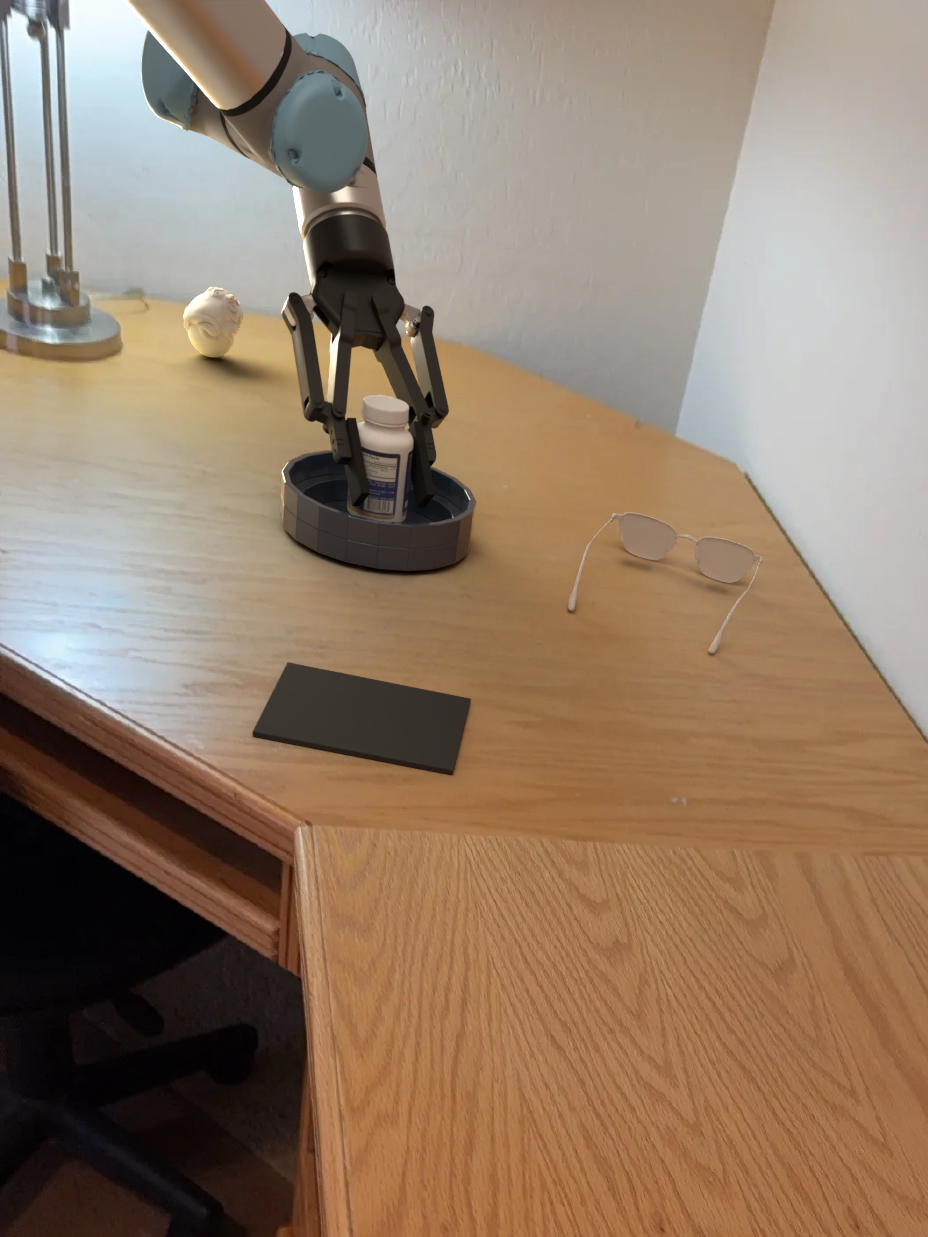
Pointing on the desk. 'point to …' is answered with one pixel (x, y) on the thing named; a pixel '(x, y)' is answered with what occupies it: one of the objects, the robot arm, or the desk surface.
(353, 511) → the pill bottle
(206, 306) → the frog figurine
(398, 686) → the mat
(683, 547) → the desk surface
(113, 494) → the desk surface
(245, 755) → the desk surface
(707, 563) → the eyeglasses
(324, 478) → the bowl
